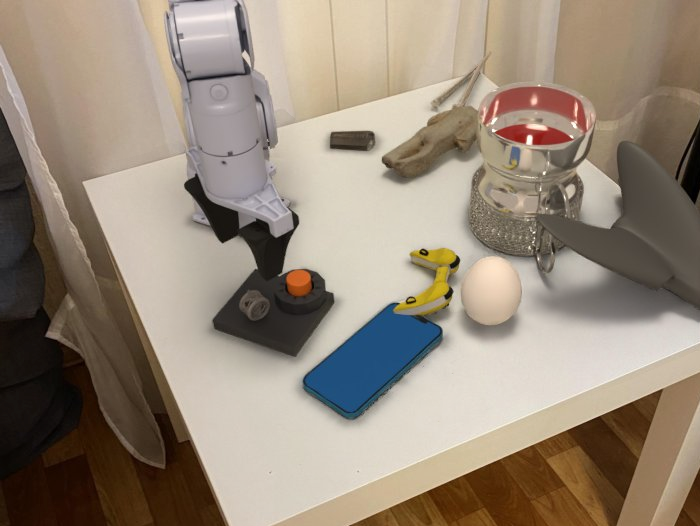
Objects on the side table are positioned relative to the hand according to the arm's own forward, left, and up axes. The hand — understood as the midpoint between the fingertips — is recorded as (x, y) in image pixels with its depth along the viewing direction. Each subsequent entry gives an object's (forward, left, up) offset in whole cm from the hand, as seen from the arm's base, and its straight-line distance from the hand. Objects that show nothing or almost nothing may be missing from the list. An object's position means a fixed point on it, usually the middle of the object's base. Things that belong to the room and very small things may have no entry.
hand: (250, 256), depth 85 cm
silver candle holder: (+22, +26, -9) cm, 36 cm away
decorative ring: (0, -1, -8) cm, 8 cm away
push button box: (+1, +1, -9) cm, 9 cm away
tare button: (+3, +4, -7) cm, 8 cm away
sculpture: (+5, +35, -9) cm, 37 cm away
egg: (+22, +10, -9) cm, 26 cm away
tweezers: (+3, +54, -7) cm, 55 cm away
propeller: (+37, +22, -7) cm, 43 cm away
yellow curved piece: (+15, +11, -9) cm, 21 cm away
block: (-6, +34, -10) cm, 36 cm away
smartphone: (+14, 0, -9) cm, 17 cm away
